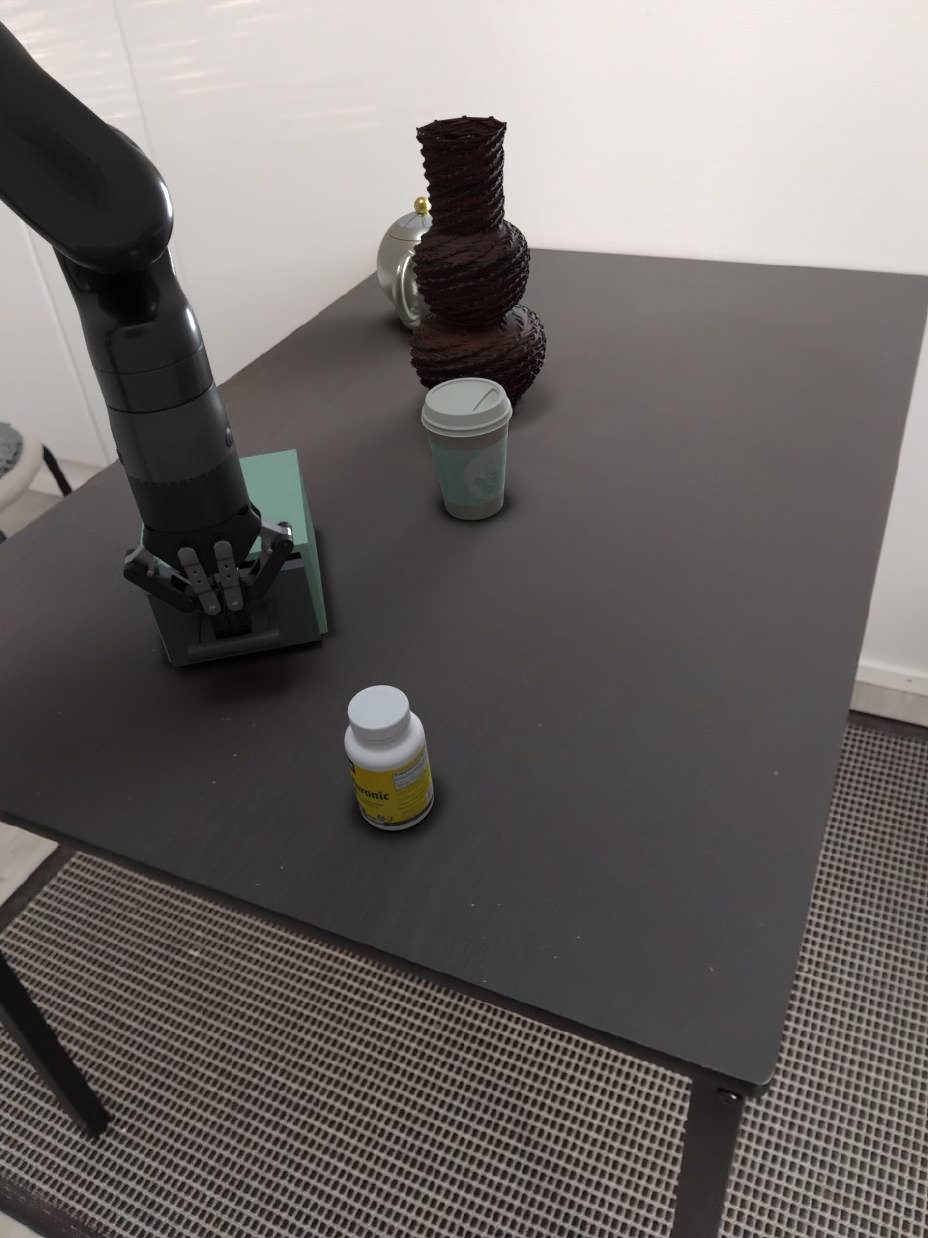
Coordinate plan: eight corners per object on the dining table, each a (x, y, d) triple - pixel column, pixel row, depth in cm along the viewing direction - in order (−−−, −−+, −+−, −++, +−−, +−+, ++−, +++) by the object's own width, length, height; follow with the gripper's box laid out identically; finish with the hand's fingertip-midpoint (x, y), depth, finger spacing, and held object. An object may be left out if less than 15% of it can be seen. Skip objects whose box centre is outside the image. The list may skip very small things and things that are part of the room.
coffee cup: (462, 539, 94) (451, 427, 86) (416, 501, 99) (402, 394, 92) (534, 507, 97) (529, 396, 89) (485, 472, 103) (477, 366, 95)
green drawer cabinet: (328, 632, 85) (307, 542, 78) (169, 662, 83) (136, 572, 77) (314, 533, 97) (296, 448, 90) (175, 558, 95) (147, 473, 89)
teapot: (409, 296, 141) (395, 177, 131) (498, 302, 137) (491, 179, 127) (356, 350, 129) (336, 223, 118) (452, 358, 124) (440, 227, 114)
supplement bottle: (344, 802, 70) (320, 704, 64) (404, 762, 72) (387, 664, 66) (389, 847, 67) (368, 749, 60) (450, 803, 69) (436, 705, 63)
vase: (416, 445, 108) (379, 155, 89) (416, 382, 120) (384, 115, 101) (554, 432, 108) (547, 139, 89) (541, 371, 120) (532, 100, 101)
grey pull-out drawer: (326, 681, 79) (308, 606, 74) (170, 711, 77) (142, 637, 72) (309, 544, 94) (293, 474, 89) (178, 567, 92) (155, 497, 87)
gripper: (272, 407, 70) (316, 596, 81) (84, 438, 68) (154, 626, 80) (278, 459, 64) (324, 655, 75) (72, 494, 63) (150, 688, 74)
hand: (236, 640), depth 77 cm, fingers closed
